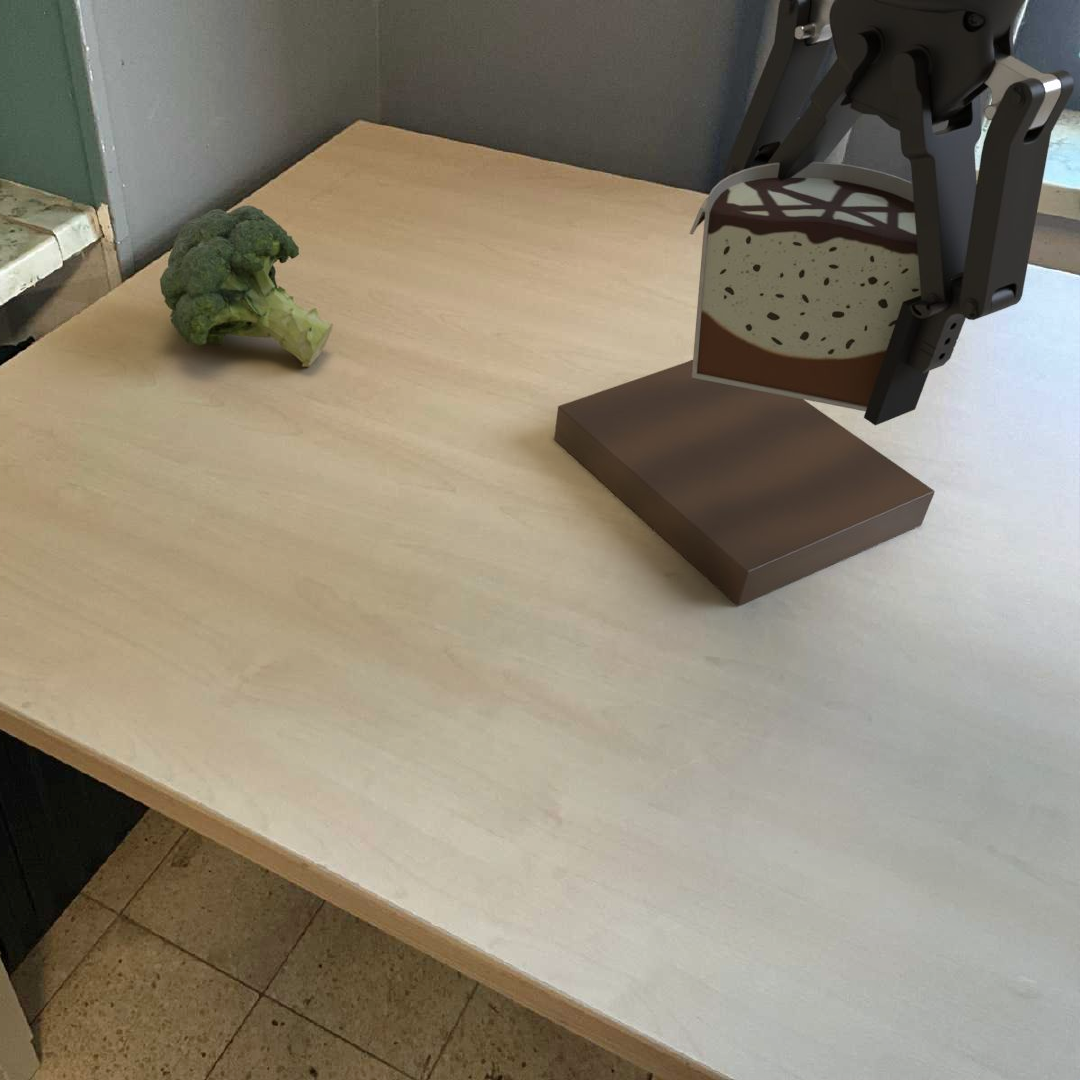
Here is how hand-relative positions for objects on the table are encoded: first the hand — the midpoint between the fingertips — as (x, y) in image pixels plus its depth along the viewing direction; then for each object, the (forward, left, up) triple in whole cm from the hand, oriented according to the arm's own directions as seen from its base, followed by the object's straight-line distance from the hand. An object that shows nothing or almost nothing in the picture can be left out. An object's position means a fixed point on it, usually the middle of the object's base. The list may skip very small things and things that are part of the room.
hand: (818, 365), depth 60 cm
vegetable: (+43, +14, -18) cm, 49 cm away
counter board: (+10, -8, -18) cm, 22 cm away
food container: (+1, +1, -1) cm, 2 cm away
